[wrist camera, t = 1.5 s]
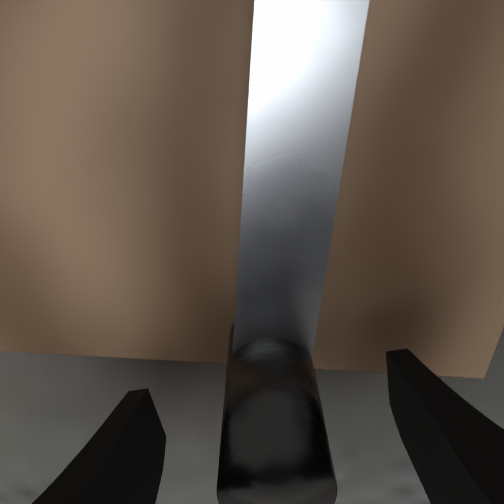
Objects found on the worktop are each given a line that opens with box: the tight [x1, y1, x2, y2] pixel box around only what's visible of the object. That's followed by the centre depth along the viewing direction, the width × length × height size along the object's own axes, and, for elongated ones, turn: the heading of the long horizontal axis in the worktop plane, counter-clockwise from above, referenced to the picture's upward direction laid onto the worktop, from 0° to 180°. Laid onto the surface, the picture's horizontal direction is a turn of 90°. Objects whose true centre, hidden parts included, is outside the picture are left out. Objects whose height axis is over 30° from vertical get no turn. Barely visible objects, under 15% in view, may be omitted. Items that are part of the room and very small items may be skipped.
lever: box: [217, 0, 369, 504], centre depth 10 cm, size 18×4×6 cm, turn 176°
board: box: [0, 0, 504, 378], centre depth 11 cm, size 21×20×4 cm
